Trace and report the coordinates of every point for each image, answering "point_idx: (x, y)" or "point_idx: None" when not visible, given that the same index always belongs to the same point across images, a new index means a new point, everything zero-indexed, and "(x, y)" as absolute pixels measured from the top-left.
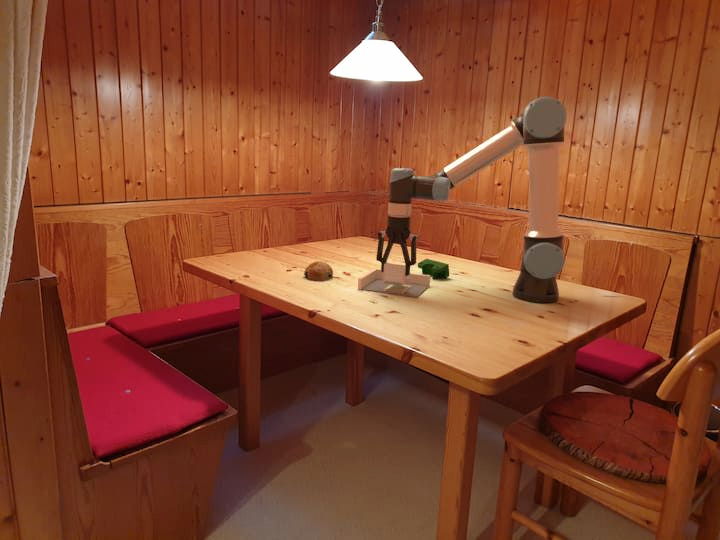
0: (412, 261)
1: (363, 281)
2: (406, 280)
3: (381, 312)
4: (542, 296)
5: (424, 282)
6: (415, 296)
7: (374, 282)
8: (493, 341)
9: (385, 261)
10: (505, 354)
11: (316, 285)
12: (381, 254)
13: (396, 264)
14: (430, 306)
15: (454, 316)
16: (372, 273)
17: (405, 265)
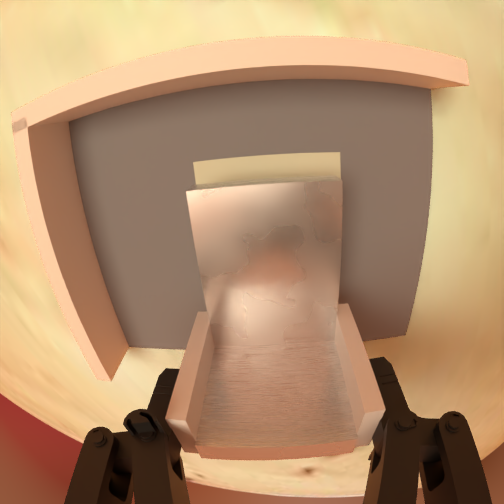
0: (432, 469)
1: (108, 345)
2: (338, 259)
3: (312, 461)
4: None
5: (413, 82)
6: (398, 334)
7: (98, 207)
8: (497, 431)
9: (174, 451)
10: (491, 445)
11: (19, 345)
12: (106, 478)
13: (287, 450)
14: (443, 378)
15: (483, 396)
16: (51, 217)
17: (372, 456)
